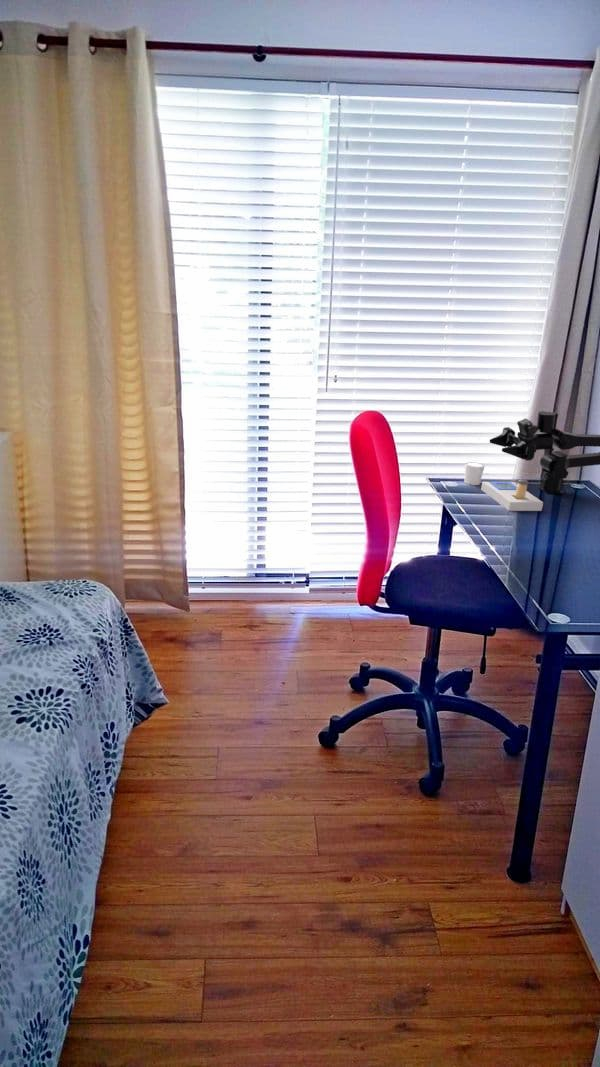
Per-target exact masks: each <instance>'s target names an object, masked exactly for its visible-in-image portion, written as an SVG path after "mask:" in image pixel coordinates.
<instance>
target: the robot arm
mask: <svg viewBox="0 0 600 1067" xmlns="http://www.w3.org/2000/svg"><path fill="white" fill-rule="evenodd" d="M558 416H559V414H558V413H557V412H555V411H553V412H551V411H545V410H543V411H539V412H538V413H537V423H536V424H533V422H532V421H531V420H529V419H528V418H523V419H521V420H519V421H517V423H516V424H517V426H518V430H519V431H518V432H517V436H516V431H515V430H514V429H512V428H511V427H508V426H507V427H506V426H505V427H503V429H502V433H501V434H498V435H497V436H495V437H493V438H491V439H489V443H490V444H492V445H497V446H500V447H502V448H501V452H502V453H504V454H508V455H511V456H514V457H516V458H519V459H522V460H524V461H526V462H528V461H529V462H531V461H532V460H533V459H534V458H535V454H536V453H537V451H542V450H544V452H543V453H544V454H543V455H542V456H541V458H540V461H539V464H540V466H541V470H542V472H543V477H542V478H541V483H540V486H538V488H539V489H540V490H541V491H543V492H544V493H546V494H558V495H559V494H564V491H562V487H563V484H564V483H563V482H564V479H567V477H568V475H569V471H568V469H570V468H581V467H582V468H583V467H590V466H599V465H600V451H598V452H593V453H592V452H591V453H590V452H589V453H581V454H580V453H579V454H571V455H570V454H569V455H568V454H566V453H565V452H562V451H567V450H571V449H573V448H576V447H577V448H578V447H600V434H589V433H588V434H581V433H580V434H579V433H578V434H577V433H572V432H568V431H564V430H560V429H558V428H557V422H558V418H559V417H558ZM538 431H539V433H537V432H538ZM554 447H555V448H557V449H560V450H562V451H560V450H556V451H554V450H555V448H554Z"/></svg>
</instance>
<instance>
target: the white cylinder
mask: <svg viewBox="0 0 600 1067" xmlns="http://www.w3.org/2000/svg"><path fill="white" fill-rule="evenodd" d="M464 466H465V467H464V478H463V479H464V484H466V483H467V485H470V484H471V486H479V485H480V484H481V482H482V477H483V475H484V474H483V473H484V471H485V470H484V469H485V464H483V463H479V462H475V461H467V462H466V463H465V464H464Z"/></svg>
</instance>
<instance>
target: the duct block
mask: <svg viewBox="0 0 600 1067" xmlns="http://www.w3.org/2000/svg"><path fill="white" fill-rule="evenodd" d="M481 482H482V483H481V488H480V490H481V491H482V492H484V493H485V494H486V495H487V496H489V497H490V498H492V499H493V500H494V501H495V502H497V503H498V504H499V505H501V506H502V507H503V508H504V509H506V510H507V511H511V512H514V511H515V512H525V511H527V512H533V511H535V512H541V511H542V510H543V505H544V502H543V501H542V500H540V499H539V498H538V497H536V496H534V495H533V494H531V493H530V492H529V491H527V490H526V495H525V500H518V499H516V498H515V495H516V489H517V484H518V483H516V482H514V481H481Z"/></svg>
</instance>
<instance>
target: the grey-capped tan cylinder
mask: <svg viewBox="0 0 600 1067" xmlns="http://www.w3.org/2000/svg"><path fill="white" fill-rule="evenodd" d="M516 484H517V489H516V495H515V498H516V499H518V500H525V495H526V491H527V489H528V484H529V480H527V479H524V478H519V479H517V483H516Z"/></svg>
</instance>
